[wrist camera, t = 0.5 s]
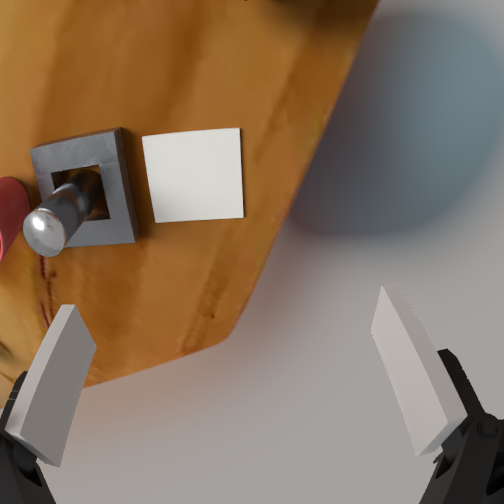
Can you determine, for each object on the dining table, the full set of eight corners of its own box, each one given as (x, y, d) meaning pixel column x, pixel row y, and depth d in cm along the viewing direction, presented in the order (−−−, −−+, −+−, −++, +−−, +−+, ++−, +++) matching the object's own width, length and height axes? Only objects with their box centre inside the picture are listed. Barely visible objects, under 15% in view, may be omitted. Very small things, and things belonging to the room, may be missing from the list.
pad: (142, 136, 34) (142, 137, 33) (239, 127, 34) (239, 128, 33) (156, 221, 39) (155, 222, 39) (243, 216, 40) (243, 217, 39)
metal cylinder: (67, 172, 35) (17, 214, 25) (100, 166, 35) (54, 209, 25) (76, 207, 38) (32, 257, 28) (108, 203, 38) (69, 255, 28)
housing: (39, 144, 32) (29, 149, 30) (121, 127, 33) (113, 131, 31) (64, 238, 40) (57, 247, 38) (140, 232, 40) (135, 242, 38)
